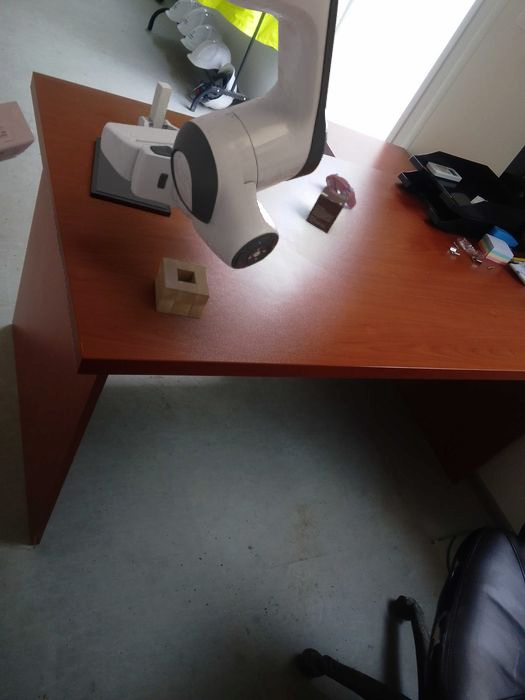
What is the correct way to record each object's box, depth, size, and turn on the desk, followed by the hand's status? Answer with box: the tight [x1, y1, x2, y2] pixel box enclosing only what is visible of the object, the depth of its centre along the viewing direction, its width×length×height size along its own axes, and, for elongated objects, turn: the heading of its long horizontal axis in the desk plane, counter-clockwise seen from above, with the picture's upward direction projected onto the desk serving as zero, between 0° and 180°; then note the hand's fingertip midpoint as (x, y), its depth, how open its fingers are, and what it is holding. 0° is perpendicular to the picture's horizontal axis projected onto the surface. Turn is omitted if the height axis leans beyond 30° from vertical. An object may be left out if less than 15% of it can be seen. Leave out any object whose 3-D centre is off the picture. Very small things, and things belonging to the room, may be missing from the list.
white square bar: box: [148, 81, 173, 129], centre depth 69 cm, size 2×2×15 cm
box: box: [306, 185, 347, 234], centre depth 106 cm, size 6×6×7 cm
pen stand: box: [154, 256, 211, 319], centre depth 69 cm, size 7×7×5 cm
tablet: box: [89, 136, 172, 218], centre depth 87 cm, size 20×14×1 cm
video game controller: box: [325, 172, 357, 209], centre depth 120 cm, size 10×5×7 cm
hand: (151, 122), depth 68 cm, fingers closed on white square bar, 1 cm apart
